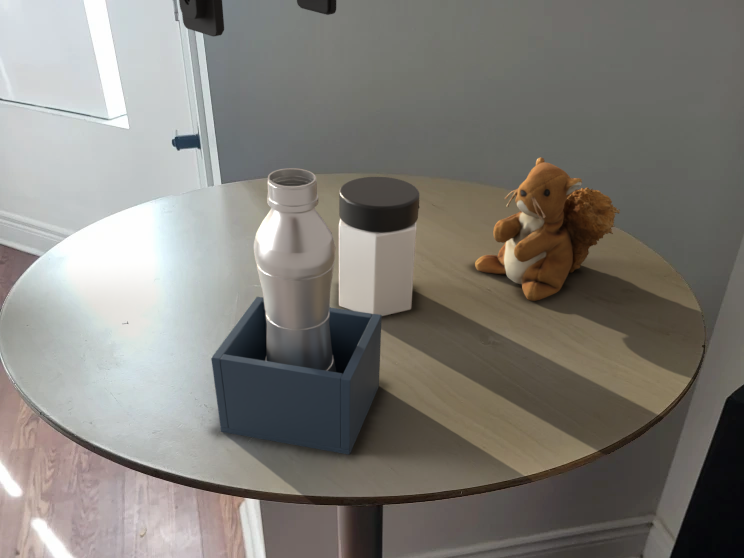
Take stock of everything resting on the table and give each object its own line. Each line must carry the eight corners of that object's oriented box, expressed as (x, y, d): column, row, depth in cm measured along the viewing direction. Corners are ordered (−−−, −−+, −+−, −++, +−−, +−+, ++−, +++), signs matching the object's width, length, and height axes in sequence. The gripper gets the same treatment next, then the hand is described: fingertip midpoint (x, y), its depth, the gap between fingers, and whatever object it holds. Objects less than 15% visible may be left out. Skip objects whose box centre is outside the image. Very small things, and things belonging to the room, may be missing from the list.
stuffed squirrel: (467, 270, 92) (481, 155, 83) (560, 247, 97) (582, 137, 88) (518, 308, 85) (539, 187, 76) (615, 281, 91) (645, 166, 82)
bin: (220, 434, 67) (210, 357, 62) (262, 369, 75) (256, 296, 70) (349, 457, 66) (350, 380, 60) (379, 388, 73) (381, 314, 68)
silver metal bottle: (271, 430, 67) (253, 198, 53) (260, 386, 72) (242, 163, 58) (344, 421, 68) (345, 192, 54) (329, 378, 73) (326, 158, 59)
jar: (429, 296, 87) (438, 188, 79) (391, 327, 82) (396, 215, 73) (362, 274, 90) (364, 169, 82) (321, 302, 85) (319, 192, 77)
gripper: (314, -351, 45) (316, -5, 57) (44, -402, 35) (114, 28, 47) (413, -356, 42) (394, 14, 53) (144, -413, 32) (193, 54, 44)
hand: (263, 20), depth 50 cm, fingers open, 9 cm apart
